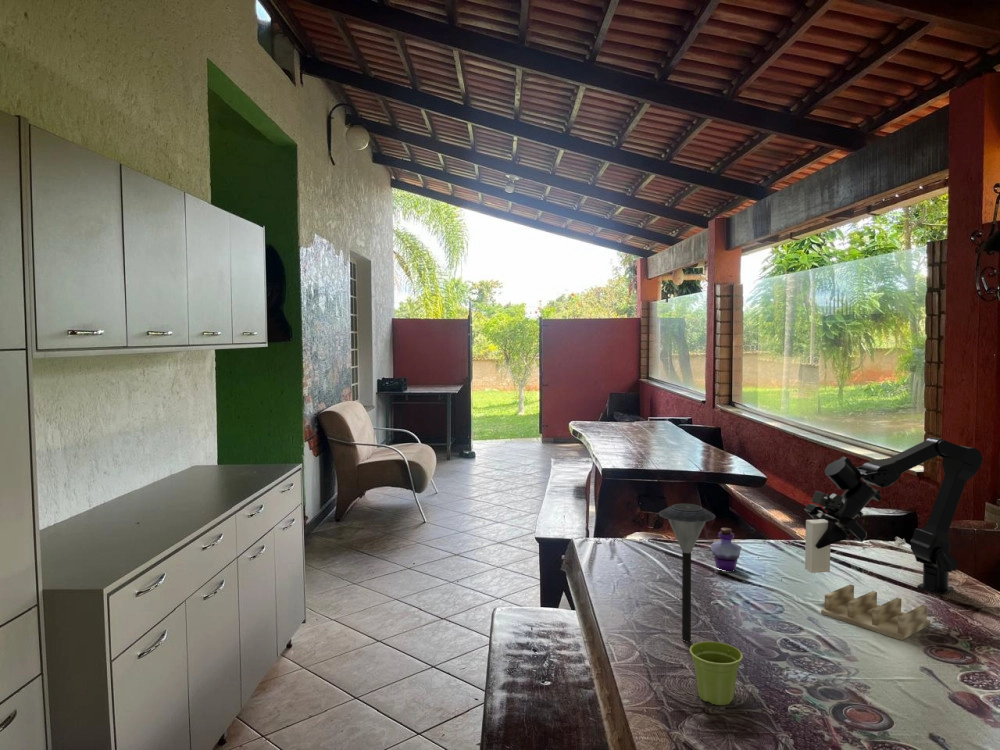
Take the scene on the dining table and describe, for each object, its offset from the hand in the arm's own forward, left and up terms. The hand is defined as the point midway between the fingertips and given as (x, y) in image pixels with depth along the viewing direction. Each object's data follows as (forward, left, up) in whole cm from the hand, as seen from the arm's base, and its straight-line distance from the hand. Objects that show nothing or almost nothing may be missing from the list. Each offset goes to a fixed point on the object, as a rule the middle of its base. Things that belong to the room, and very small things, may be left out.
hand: (812, 545), depth 173 cm
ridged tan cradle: (+2, +16, -13) cm, 21 cm away
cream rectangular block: (-1, 0, -7) cm, 7 cm away
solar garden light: (+47, -3, -14) cm, 49 cm away
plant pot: (+62, +16, -14) cm, 65 cm away
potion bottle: (0, -27, -14) cm, 30 cm away
